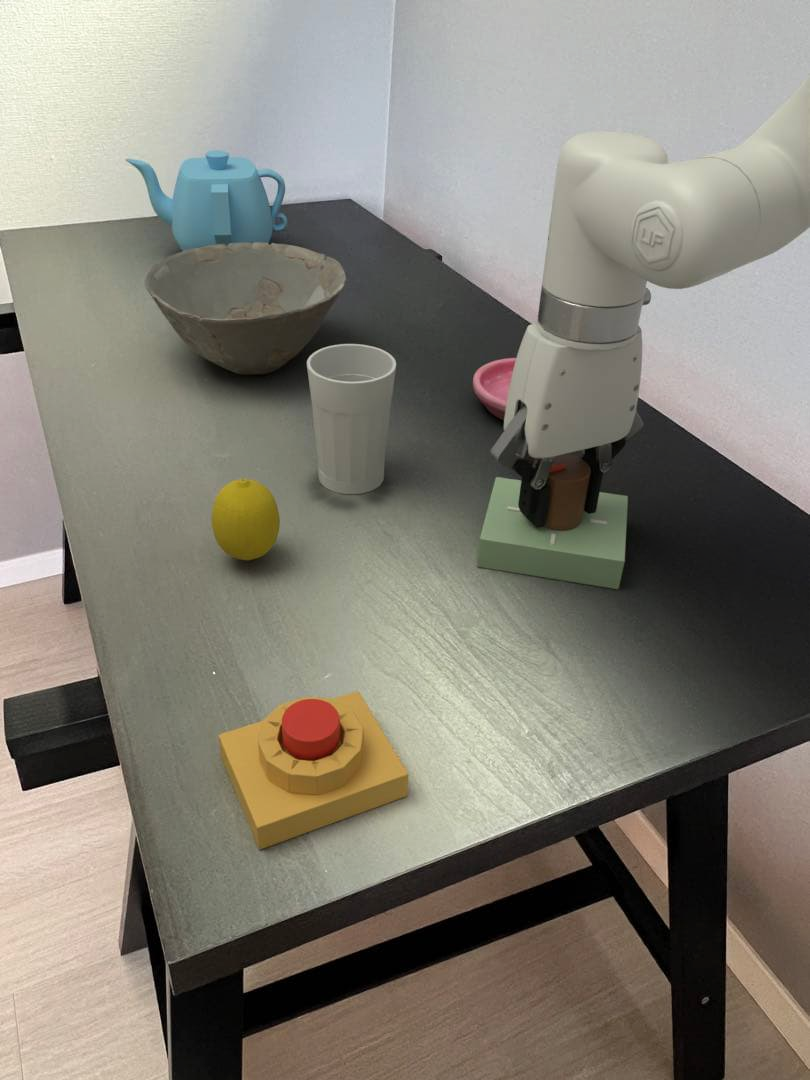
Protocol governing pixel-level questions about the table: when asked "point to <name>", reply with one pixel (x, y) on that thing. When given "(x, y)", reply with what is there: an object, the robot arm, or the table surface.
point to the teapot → (216, 201)
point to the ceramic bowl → (246, 301)
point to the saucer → (494, 385)
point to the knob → (567, 492)
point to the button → (311, 729)
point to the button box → (311, 773)
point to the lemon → (245, 519)
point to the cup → (351, 414)
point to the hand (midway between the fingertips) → (557, 510)
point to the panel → (554, 540)
